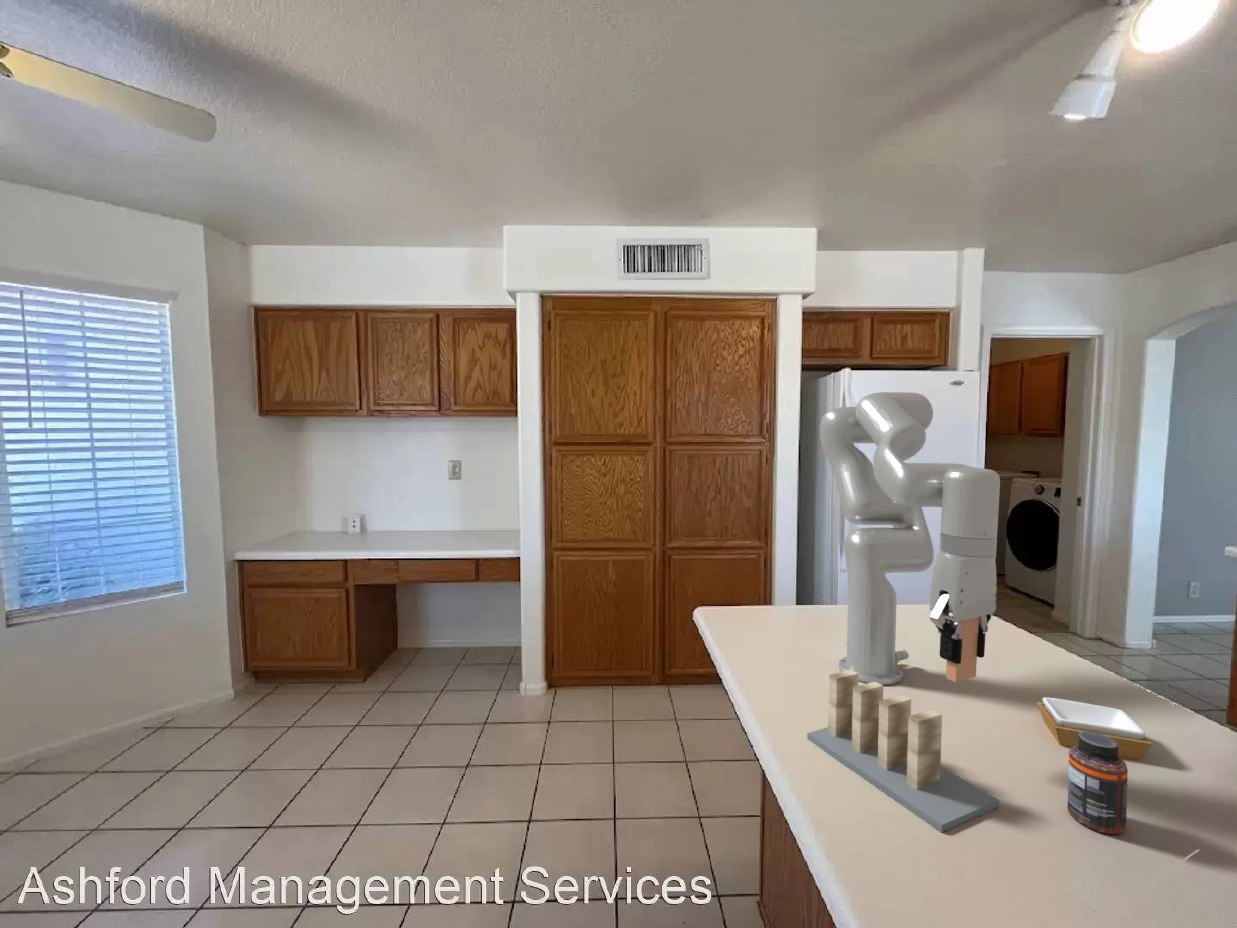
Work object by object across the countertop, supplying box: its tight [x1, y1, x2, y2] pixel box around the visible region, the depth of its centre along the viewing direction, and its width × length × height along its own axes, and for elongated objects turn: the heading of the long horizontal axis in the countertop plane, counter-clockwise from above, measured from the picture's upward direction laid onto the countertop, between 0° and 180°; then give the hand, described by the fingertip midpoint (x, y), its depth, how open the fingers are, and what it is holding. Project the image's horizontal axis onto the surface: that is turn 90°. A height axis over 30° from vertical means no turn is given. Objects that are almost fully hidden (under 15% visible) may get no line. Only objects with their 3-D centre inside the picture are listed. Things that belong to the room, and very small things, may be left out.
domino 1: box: [827, 670, 859, 737], centre depth 93 cm, size 5×2×10 cm, turn 114°
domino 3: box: [878, 694, 912, 770], centre depth 84 cm, size 5×2×10 cm, turn 114°
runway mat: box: [806, 727, 1000, 833], centre depth 84 cm, size 12×24×1 cm, turn 24°
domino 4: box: [907, 709, 943, 790], centre depth 79 cm, size 5×2×10 cm, turn 114°
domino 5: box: [945, 617, 979, 683], centre depth 87 cm, size 5×2×10 cm, turn 114°
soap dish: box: [1036, 697, 1153, 760], centre depth 92 cm, size 12×10×5 cm
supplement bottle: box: [1067, 731, 1129, 835], centre depth 73 cm, size 6×6×11 cm
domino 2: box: [852, 682, 884, 752], centre depth 88 cm, size 5×2×10 cm, turn 114°
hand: (961, 656), depth 87 cm, fingers closed on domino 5, 4 cm apart
